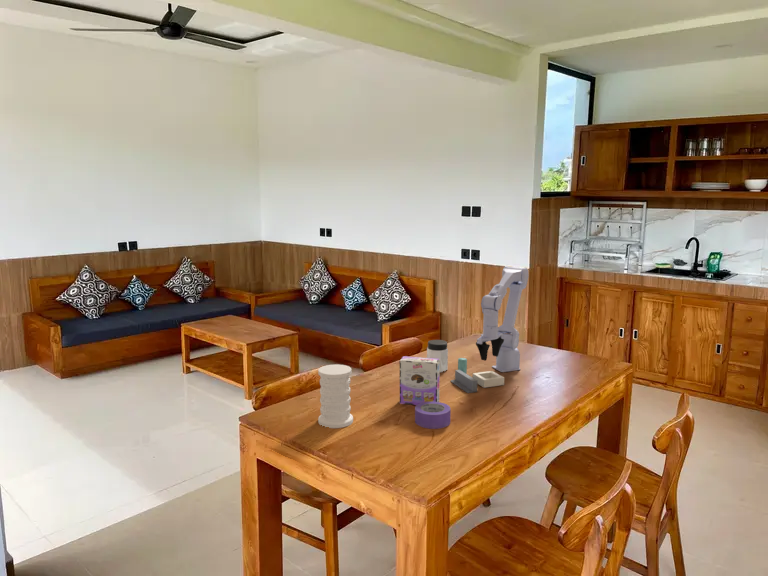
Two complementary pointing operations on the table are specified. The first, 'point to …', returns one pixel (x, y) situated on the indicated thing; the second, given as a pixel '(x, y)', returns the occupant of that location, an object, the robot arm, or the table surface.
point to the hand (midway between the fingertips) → (489, 358)
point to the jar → (438, 352)
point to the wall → (465, 382)
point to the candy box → (419, 380)
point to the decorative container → (335, 396)
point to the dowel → (462, 364)
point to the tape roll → (432, 415)
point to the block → (488, 379)
